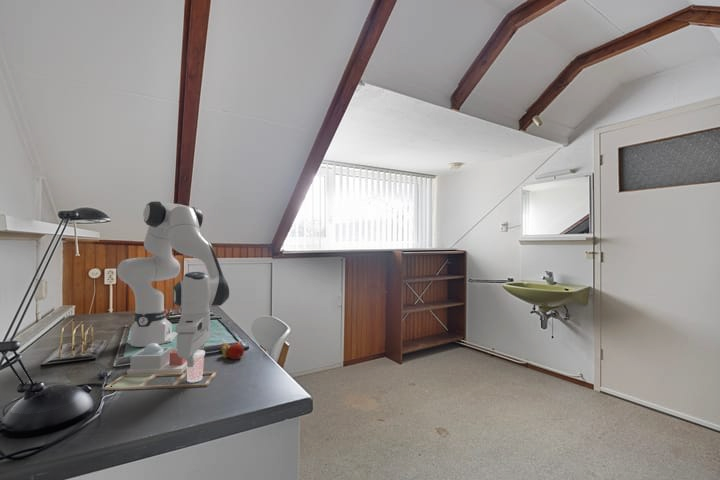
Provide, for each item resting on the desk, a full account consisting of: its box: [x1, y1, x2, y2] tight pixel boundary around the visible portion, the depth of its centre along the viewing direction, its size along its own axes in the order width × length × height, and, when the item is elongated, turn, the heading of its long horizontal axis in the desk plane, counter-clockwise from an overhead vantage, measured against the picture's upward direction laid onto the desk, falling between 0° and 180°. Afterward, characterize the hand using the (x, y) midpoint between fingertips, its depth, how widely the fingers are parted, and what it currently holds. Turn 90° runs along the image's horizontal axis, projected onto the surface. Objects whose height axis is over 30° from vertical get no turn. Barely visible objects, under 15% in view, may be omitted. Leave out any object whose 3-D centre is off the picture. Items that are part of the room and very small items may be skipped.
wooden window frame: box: [103, 371, 218, 391], centre depth 113 cm, size 11×31×1 cm, turn 97°
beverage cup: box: [186, 349, 206, 383], centre depth 114 cm, size 6×6×14 cm
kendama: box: [220, 341, 245, 361], centre depth 140 cm, size 8×6×18 cm
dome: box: [141, 343, 164, 355], centre depth 125 cm, size 7×7×7 cm
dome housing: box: [126, 346, 187, 375], centre depth 125 cm, size 12×18×6 cm, turn 97°
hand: (195, 362), depth 114 cm, fingers closed on beverage cup, 6 cm apart
